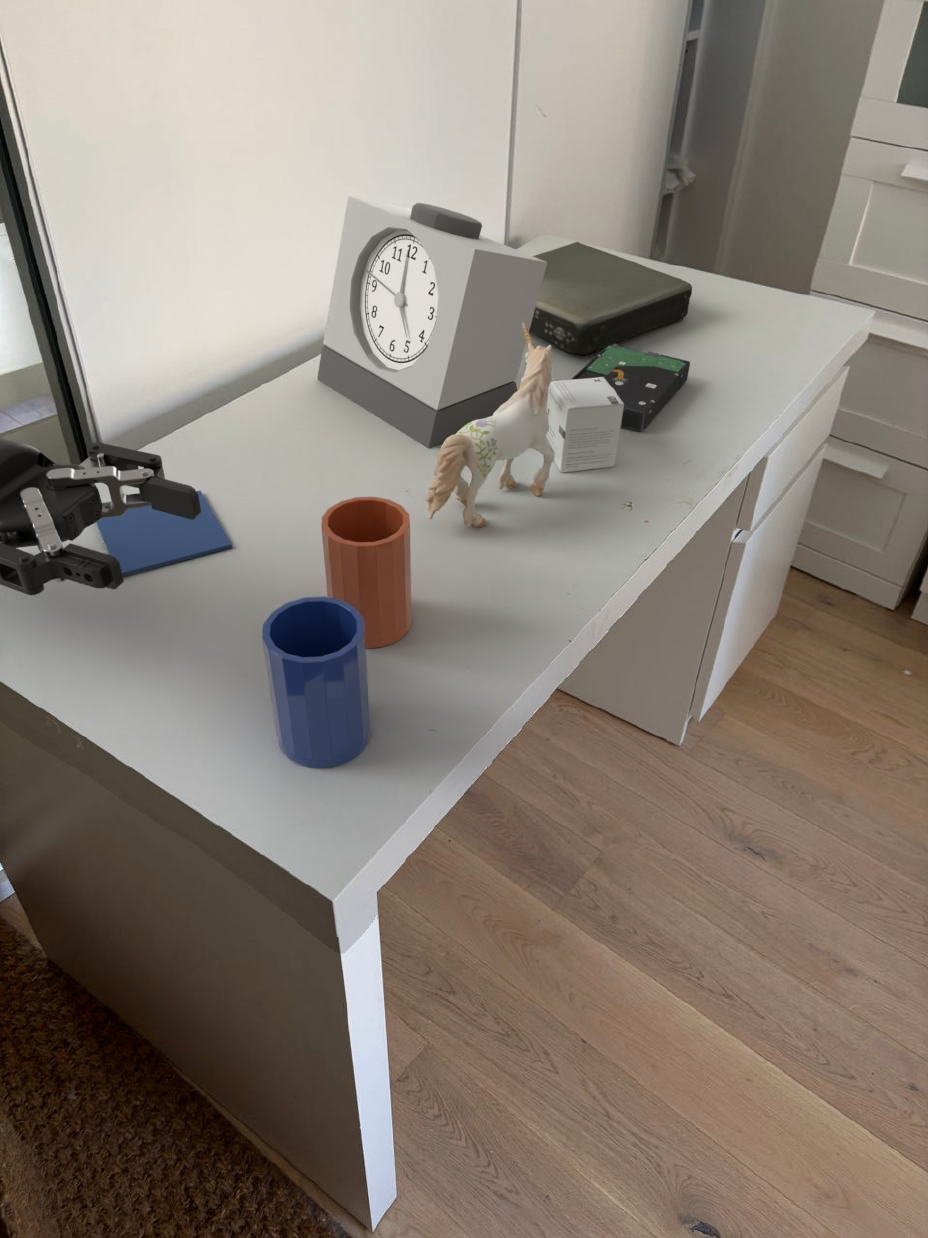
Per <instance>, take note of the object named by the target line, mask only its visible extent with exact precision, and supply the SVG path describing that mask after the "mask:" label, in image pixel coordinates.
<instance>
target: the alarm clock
mask: <svg viewBox="0 0 928 1238" xmlns="http://www.w3.org/2000/svg"><path fill="white" fill-rule="evenodd" d="M342 225H343V226H342V232H341V237H340V243H339V249H338V253H337V254H338V255H337V260H336V266H335V272H334V278H333V284H332V289H331V294H330V302H329V307H328V311H327V312H328V313H327V318H326V325H325V330H324V336H323V341H322V344H323V345H322V346H321V352H320V357H319V358H320V359H319V366H318V372H317V377H316V378H317V380H318V381H320V382H321V383H323V384H325V385H326V386H328V387H330V388H331V389H333V390H334V391H336V392H337V393H339V394H341V395H342V396H344V397H346V398H347V399H348V400H351V401H352V402H354V403H355V404H357V405H358V406H360V407H362V408H363V409H364V410H366V411H368V412H369V413H371V414H373V415H374V416H376V417H378V418H379V419H381V420H382V421H384V422H385V423H387V424H389V425H390V426H392V427H394V428H395V429H396V430H398V431H400V432H401V433H403V434H405V435H406V436H408V437H409V438H411V439H413V440H414V441H416V442H417V443H419V444H421V445H422V446H424V447H426V448H427V449H430V448H433V447H435V446H438V445H440V444H443V443H444V441H445V440H446V439H447V438H448V437H449V436H451V435H455V434H456V433H457V432H458V431H459V430H460V429H461V428H462V427H464V426H465V425H466V424H468V423H470V422H472V421H475V420H479V419H484V418H487V417H490V416H493V413H494V412H495V411H496V410H497V409H498V408H499V407H500V406H501V405H502V404H504V403H505V402H506V401H508V400H509V399H510V398H511V397H512V395H513V394H514V393H515V392H516V391H518V387H517V383H516V382H517V381H516V380H517V378H518V375H519V370H520V367H521V363H522V359H523V356H524V352H525V348H526V345H527V342H526V339H525V335H524V332H523V327H522V323H523V322H524V323H525V325H526V326H527V329H528V332H529V329H530V326H531V322H532V318H533V314H534V311H535V307H536V303H537V299H538V296H539V292H540V288H541V284H542V281H543V277H544V273H545V269H546V265H547V262H545V261H543V260H540V259H538V258H535V257H533V256H534V255H531V254H528V253H525V252H523V251H520V250H518V249H516V248H513V247H511V246H508V245H505V244H503V243H501V242H498V241H497V240H493V239H491V238H488V237H486V236H483V235H481V232H482V228H483V223H482V222H481V221H479V220H478V219H476V218H473V217H471V216H469V215H466V214H463V213H460V212H458V211H454V210H451V209H447V208H445V207H441V206H436V205H433V204H429V203H428V204H427V203H422V202H416V203H415V204H413V205H412V207H411V208H408V207H404V206H403V207H402V206H399V205H393V204H390V203H384V202H380V201H374V200H371V199H365V198H361V197H356V196H351V195H348V196H347V202H346V206H345V212H344V219H343V224H342ZM529 333H530V332H529Z"/></svg>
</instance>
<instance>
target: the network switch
mask: <svg viewBox="0 0 928 1238" xmlns="http://www.w3.org/2000/svg"><path fill="white" fill-rule="evenodd" d="M532 256H533V257H535V258H538V259H540V260H543V261H545V262H547V265H546V269H545V273H544V277H543V281H542V284H541V288H540V292H539V296H538V299H537V303H536V307H535V311H534V314H533V318H532V322H531V326H530V329H529V333H532V334H533V335H535V336H537V337H540V338H542V339H544V340H547V341H548V342H551V343H553V344H554V345H555V346H557V347H558V348H559V349H561V350H563V351H565V352H567V353H570V354H571V353H572V354H580V355H583V356H587V355H588V354H593V353H595V352H600V351H602V350H603V349H605V348H607V347H608V346H612V345H613V344H616V343H618V342H622V341H626V340H627V339H631V338H634V337H636V336H637V335H639V334H641V333H644V332H645V333H646V332H649V331H652V330H655V329H657V328H661V327H668V326H669V325H672V324H674V323H678V322H681V321H682V320H684V318H685V317H686V316H687V315H688V313H689V307H690V302H691V301H690V300H691V297H692V294H693V286H692V284H691V283H690V282H687V281H686V280H683V279H682V278H679V277H675V276H673V275H671V274H667V273H665V272H662V271H659V270H656V269H653V268H651V267H648V266H645V265H642V264H640V263H638V262H636V261H634V260H633V261H632V260H630V259H626V258H624V257H621V256H618V255H617V254H616V255H615V254H612V253H610V252H607V251H605V250H601V249H598V248H596V247H592V246H590V245H586V244H585V243H584V244H583V243H581V242H579V241H575V242H572V243H569V244H566V245H563V246H561V247H558V248H554V249H551V250H548V251H544V252H541V253H539V254H535V255H532Z"/></svg>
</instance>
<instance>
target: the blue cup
mask: <svg viewBox="0 0 928 1238" xmlns="http://www.w3.org/2000/svg"><path fill="white" fill-rule="evenodd" d="M261 640H262V641H261V642H262V647H263V652H264V661H265V666H266V667H265V668H266V673H267V681H268V686H269V693H270V700H271V705H272V713H273V721H274V727H275V733H276V737H277V741H278V745H279V748H280V750H281V751H282V753H283V754H284V755H285V756H286V757H287V758H288V759H289V760H291V761H292V762H294V763H296V764H298V765H300V766H304V767H308V768H313V769H327V768H328V769H329V768H334V767H338V766H342V765H343V764H346V763H348V762H350V761H352V760H354V759H355V758H356V757H358V756H359V755H360V754H361V753H363V751H364V749H365V748H366V747H367V745H368V744H369V742H370V737H371V733H372V732H371V711H370V710H371V709H370V693H369V678H368V677H369V675H368V660H367V659H368V658H367V648H366V642H365V625H364V619H363V617H362V616H361V615H360V613H359V612H358V610H357V609H356V608H355V607H353V606H351V605H350V604H348V603H346V602H344V601H342V600H338V599H334V598H329V597H328V596H306V597H301V598H299V599H295V600H291V601H288V602H285V603H283V604H282V605H280V606H279V607H278V608H276V609H275V610H273V611H272V612H271V613H270V614H269V615H268V617H267V618H266V619H265V621H264V622H263V624H262V631H261Z"/></svg>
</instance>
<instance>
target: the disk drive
mask: <svg viewBox="0 0 928 1238" xmlns="http://www.w3.org/2000/svg"><path fill="white" fill-rule="evenodd" d="M690 366H691V361H689V360H685V359H681V358H678V357H677V358H676V357H674V356H673V357H672V356H669V355H664V354H660V353H657V352H653V351H647V352H646V351H643V350H642V351H641V350H637V349H633V348H629V347H624V346H621V345H619V344H618V343H613V344H611V345H609V346H607V347H605V348H603V349H601V350H600V351H599V352H598V354H597V355H595V356H594V357H593V358H592V359H591V360H590V361H589V362H588V363H587V364H586V365H585V366H584V367H582V368H581V369H580V370H579V371H578V372H577V373H576V374H575V375H574V376H573V377H572V378H571V379H570V380H574V379H587V378H597V377H604V378H605V380H606V381H607V382H608V383H609V385H610V386H611V387H612V388H613V389H614V390H615V391H616V393H617V395H618V396H619V398H620V399H621V400H622V402H623V403H624V408H623V414H622V421H621V428H623V429H627V430H634V431H635V432H637V431H638V432H644V430H646V429H647V428H648V426H649V425H650V424H652V422H653V421H654V419H655V418H656V417H657V416H658V415H659V414H660V413H661V411H662V410H663V409H664V408H665V406H666V405H667V404H668V403H669V402H670V401H672V399H673V397H674V396H675V395H676V394H677V393H678V392H679V391H680V390H681V388H682V387H683V386H684V384H686V382H687V381H688V377H689V371H690Z"/></svg>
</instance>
